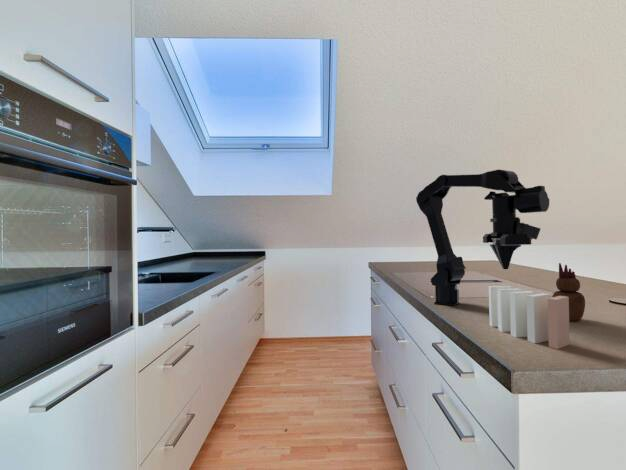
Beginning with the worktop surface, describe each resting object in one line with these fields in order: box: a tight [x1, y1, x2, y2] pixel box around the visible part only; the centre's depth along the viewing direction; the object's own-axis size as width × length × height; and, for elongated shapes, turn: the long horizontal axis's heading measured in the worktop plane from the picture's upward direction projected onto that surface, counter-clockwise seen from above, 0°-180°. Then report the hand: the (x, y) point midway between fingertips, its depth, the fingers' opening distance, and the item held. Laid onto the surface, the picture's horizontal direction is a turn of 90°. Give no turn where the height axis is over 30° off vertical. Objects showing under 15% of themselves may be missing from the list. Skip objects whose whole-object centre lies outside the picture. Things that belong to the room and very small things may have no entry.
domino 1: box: [488, 285, 514, 328], centre depth 82 cm, size 2×5×10 cm, turn 79°
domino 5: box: [548, 296, 571, 350], centre depth 67 cm, size 2×5×10 cm, turn 119°
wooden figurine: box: [551, 262, 586, 322], centre depth 86 cm, size 7×6×15 cm
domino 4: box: [527, 292, 551, 344], centre depth 70 cm, size 2×5×10 cm, turn 109°
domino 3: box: [510, 290, 536, 339], centre depth 74 cm, size 2×5×10 cm, turn 99°
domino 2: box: [497, 288, 523, 333], centre depth 78 cm, size 2×5×10 cm, turn 89°
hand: (505, 269), depth 92 cm, fingers closed
